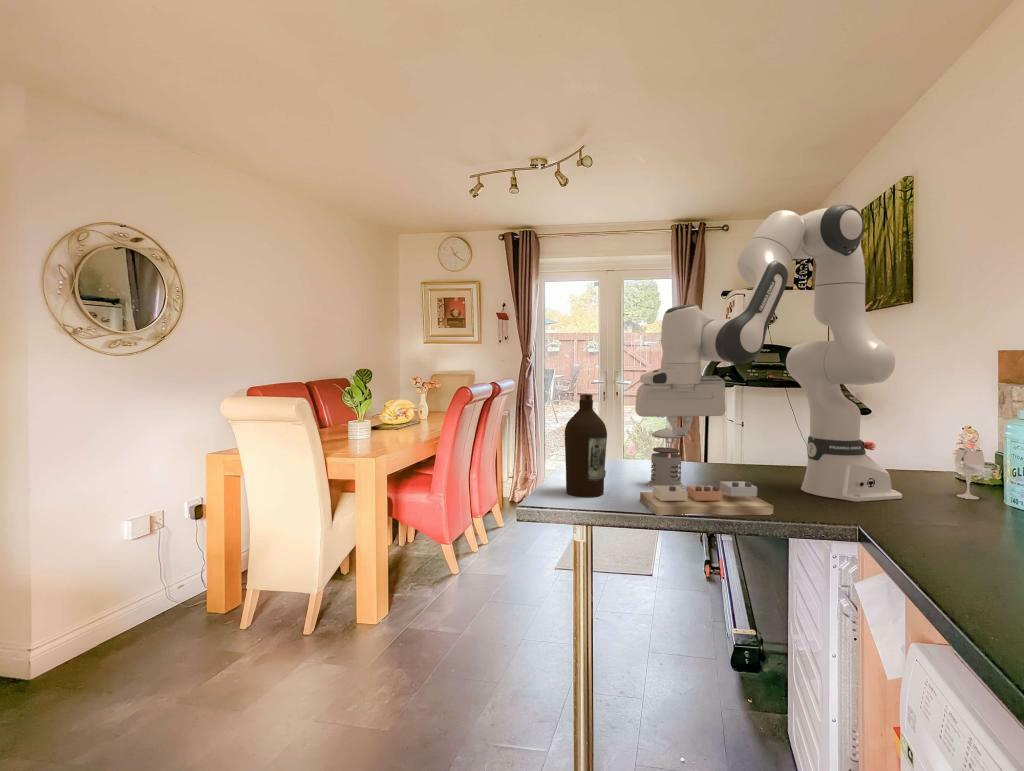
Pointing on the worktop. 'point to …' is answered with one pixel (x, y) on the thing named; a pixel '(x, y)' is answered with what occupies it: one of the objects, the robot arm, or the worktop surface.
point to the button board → (708, 505)
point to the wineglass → (969, 466)
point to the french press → (665, 462)
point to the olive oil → (585, 451)
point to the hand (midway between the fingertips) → (679, 435)
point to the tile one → (670, 493)
